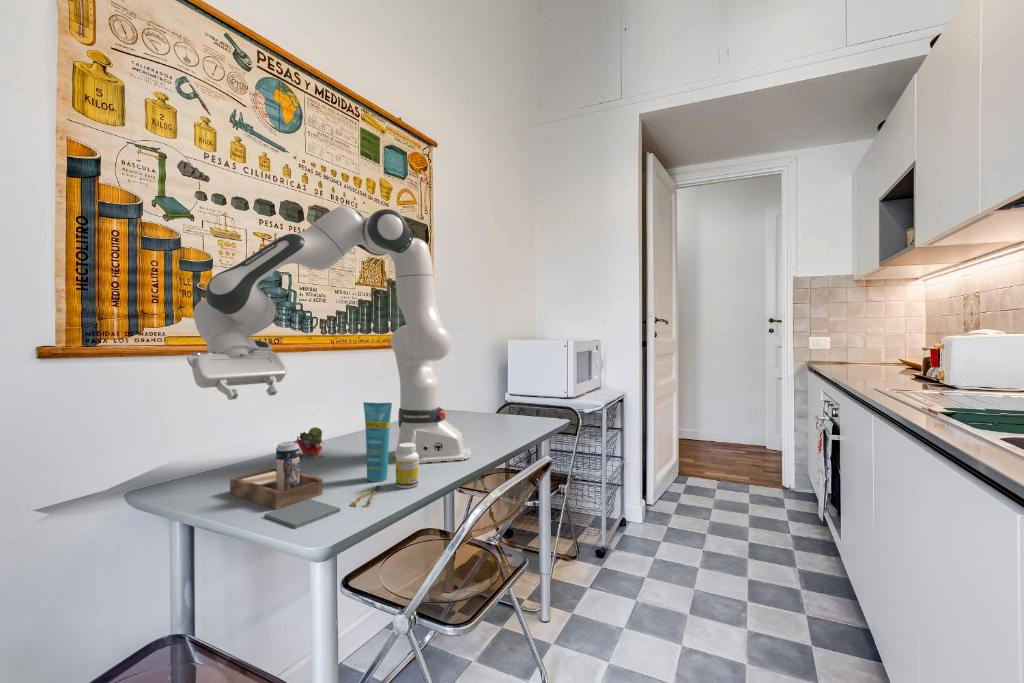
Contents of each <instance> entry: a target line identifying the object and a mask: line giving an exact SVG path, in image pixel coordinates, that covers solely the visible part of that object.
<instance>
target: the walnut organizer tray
mask: <svg viewBox="0 0 1024 683" xmlns="http://www.w3.org/2000/svg"><path fill="white" fill-rule="evenodd" d="M230 493H231V494H230ZM229 494H230V495H232V494H234V495H233V496H235V495H236V496H235V497H238V496H239V497H238V498H241V497H242V498H241V499H243V500H246V499H247V501H250V502H252V501H253V503H256V504H259V505H262V506H265V507H268V508H270V509H273V510H278V509H281V508H284V507H287V506H290V505H293V504H295V503H298V502H301V501H304V500H307V499H312V498H315V497H318V496H321V495H323V478H321V477H317V476H314V475H309V474H307V473H302V472H299V487H297V488H294V489H290V490H287V491H284V492H281V491H278V490H276V466H274V467H269V468H266V469H262V470H257V471H253V472H250V473H246V474H242V475H238V476H234V477H231V478H229Z"/></svg>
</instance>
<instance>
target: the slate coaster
mask: <svg viewBox="0 0 1024 683" xmlns="http://www.w3.org/2000/svg"><path fill="white" fill-rule="evenodd" d="M339 512H341V507H338V506H334V505H331V504H328V503H324V502H321V501H317V500H315V499H312V498H310V499H307V500H304V501H301V502H298V503H295V504H292V505H289V506H286V507H283V508H280V509H277V510H276V509H274V510H272V511H270V512H267V513H264V518H267V519H270V520H272V521H274V522H278V523H280V524H283V525H286V526H289V527H291V528H294V529H298V528H301V527H302V526H306V525H308V524H310V523H314V522H316V521H319V520H321V519H323V518H326V517H328V516H331V514H332V515H334V514H336V513H339Z"/></svg>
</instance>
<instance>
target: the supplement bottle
mask: <svg viewBox="0 0 1024 683" xmlns="http://www.w3.org/2000/svg"><path fill="white" fill-rule="evenodd" d="M415 450H416V444H414V443H402V444H400V445H399V452H400V453H399V454H397V456H396V457H395V486H396V487H397V488H399V487H400V489H412V488H415V486H416V487H418V485H419V483H420V476H419V475H420V471H419V470H420V468H419V467H420V463H419V455H418V454H417V453H416V452H415ZM411 487H412V488H411Z"/></svg>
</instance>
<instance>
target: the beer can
mask: <svg viewBox="0 0 1024 683" xmlns="http://www.w3.org/2000/svg"><path fill="white" fill-rule="evenodd" d="M276 446H277V447H276V448H275V453H276V454H275V463H276V464H275V467H276V490H278V491H281V492H284V491H287V490H290V489H294V488H297V487H299V473H300V458H299V454H300V446H299V445H298V443H297V442H294V441H284V442H280V443H278V444H277V445H276Z"/></svg>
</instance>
